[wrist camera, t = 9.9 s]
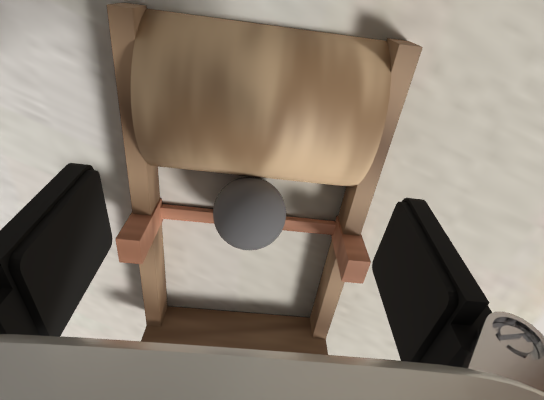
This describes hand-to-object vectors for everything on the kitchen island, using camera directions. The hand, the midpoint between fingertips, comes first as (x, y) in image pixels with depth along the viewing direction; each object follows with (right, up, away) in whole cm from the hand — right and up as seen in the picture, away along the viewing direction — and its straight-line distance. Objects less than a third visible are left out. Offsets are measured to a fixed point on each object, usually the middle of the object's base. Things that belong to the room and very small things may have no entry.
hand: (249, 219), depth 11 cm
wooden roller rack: (-1, +3, +14) cm, 15 cm away
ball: (0, +1, +6) cm, 6 cm away
